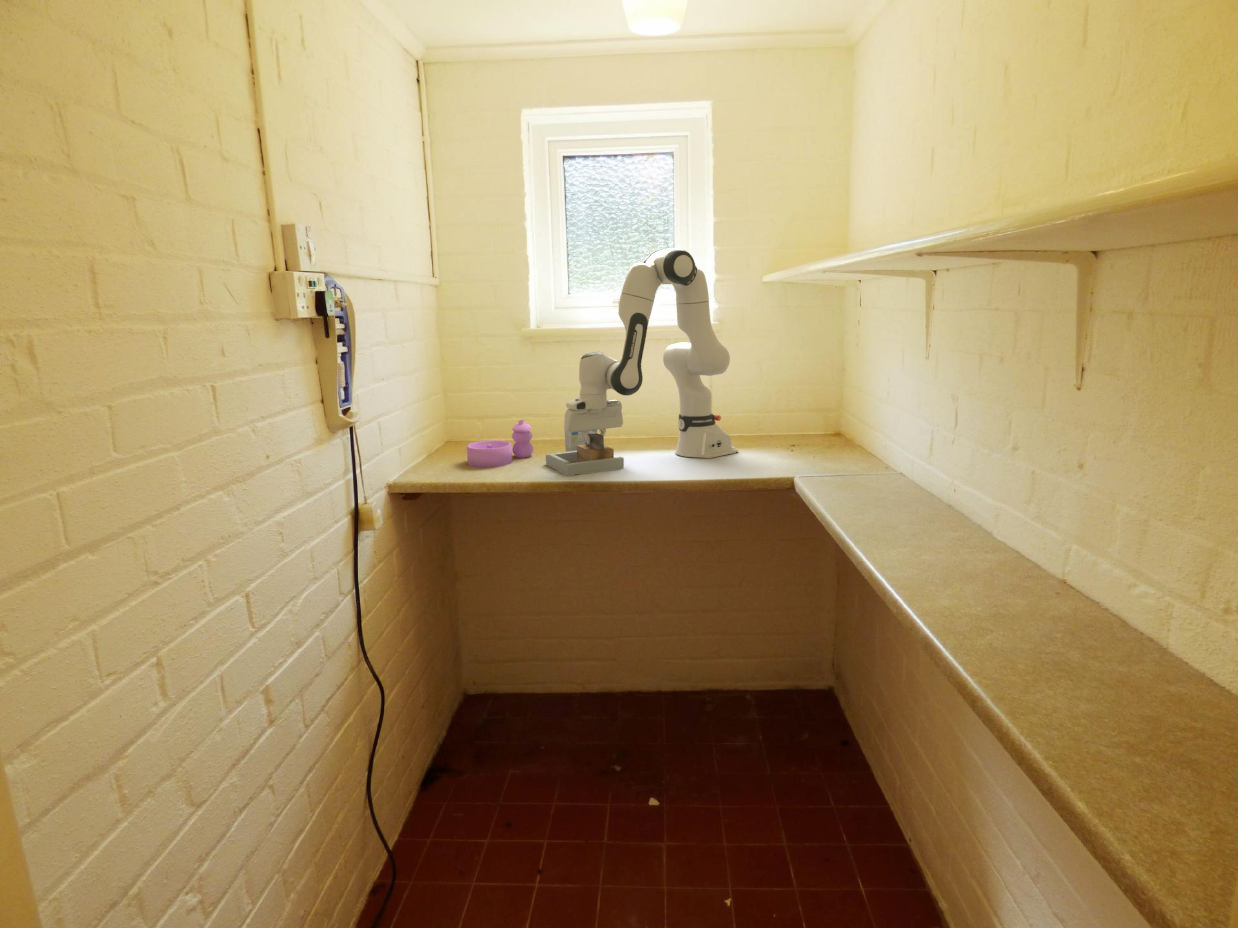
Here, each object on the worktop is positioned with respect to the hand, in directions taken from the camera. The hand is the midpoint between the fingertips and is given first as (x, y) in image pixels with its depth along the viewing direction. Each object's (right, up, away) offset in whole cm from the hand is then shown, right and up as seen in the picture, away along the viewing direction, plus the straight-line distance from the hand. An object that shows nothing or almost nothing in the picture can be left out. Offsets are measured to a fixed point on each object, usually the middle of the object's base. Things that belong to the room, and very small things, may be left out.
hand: (594, 442), depth 241 cm
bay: (-4, -8, 0) cm, 9 cm away
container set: (-33, -6, +12) cm, 36 cm away
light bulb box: (-5, -4, +19) cm, 20 cm away
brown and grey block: (0, -7, +2) cm, 8 cm away
